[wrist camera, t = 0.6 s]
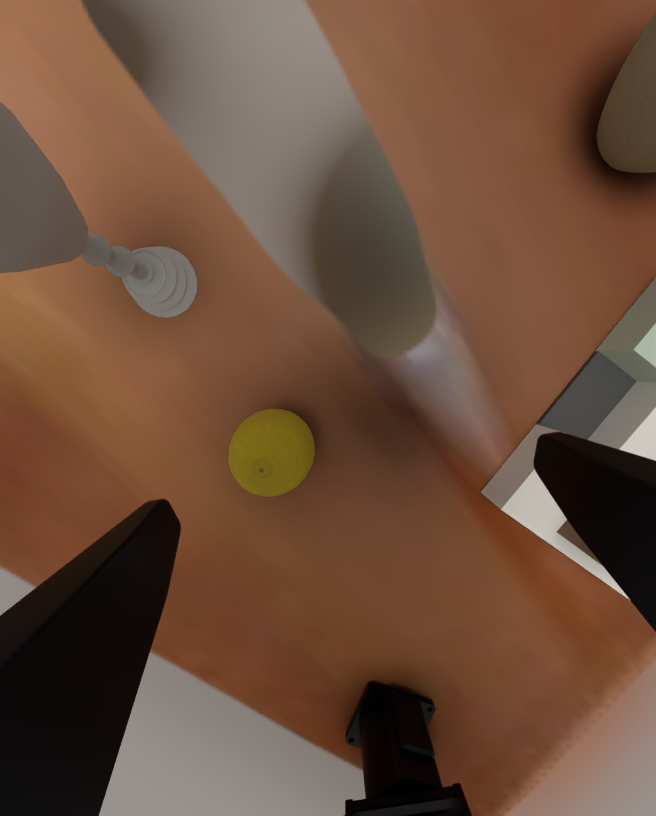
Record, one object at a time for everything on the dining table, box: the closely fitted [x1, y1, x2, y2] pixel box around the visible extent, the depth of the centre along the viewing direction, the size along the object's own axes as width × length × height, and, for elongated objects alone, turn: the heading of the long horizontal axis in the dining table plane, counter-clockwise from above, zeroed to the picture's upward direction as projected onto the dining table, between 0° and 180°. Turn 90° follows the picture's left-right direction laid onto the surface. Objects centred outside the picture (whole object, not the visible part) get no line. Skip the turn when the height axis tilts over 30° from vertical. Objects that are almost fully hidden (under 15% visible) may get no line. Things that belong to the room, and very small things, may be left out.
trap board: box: [481, 277, 656, 600], centre depth 23 cm, size 21×14×3 cm, turn 145°
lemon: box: [228, 408, 315, 497], centre depth 21 cm, size 6×6×8 cm
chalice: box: [0, 102, 197, 318], centre depth 14 cm, size 7×7×18 cm
